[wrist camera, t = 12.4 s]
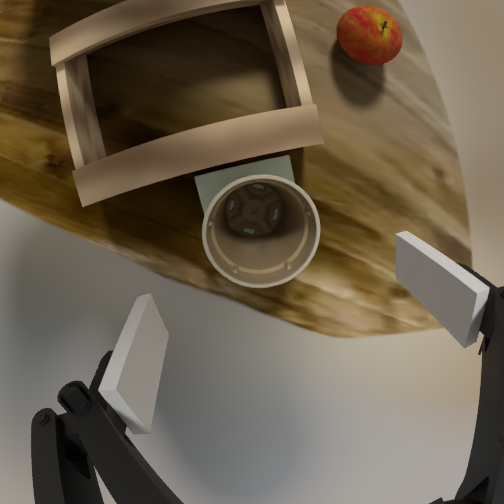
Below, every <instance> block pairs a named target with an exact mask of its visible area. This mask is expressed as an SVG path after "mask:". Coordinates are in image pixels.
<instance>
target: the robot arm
mask: <svg viewBox="0 0 504 504" xmlns="http://www.w3.org/2000/svg"><path fill="white" fill-rule="evenodd" d="M396 279H397V280H398V281H399V282H400V283H401V284H402V285H403V286H404V287H405V288H406V289H407V290H408V291H409V292H410V293H411V294H412V295H413V296H414V297H415V298H416V299H417V300H418V301H419V302H420V303H421V304H422V305H423V306H424V307H425V308H426V309H427V310H428V311H429V312H430V313H431V314H432V315H433V316H434V317H435V318H436V319H437V320H438V321H439V322H440V323H441V324H442V325H443V326H444V327H445V328H446V329H447V330H448V331H449V332H450V334H451V335H453V337H454V338H455V339H456V340H457V341H458V342H459V343H460V344H461V345H462V347H463V348H466V347H468V346H469V345H471V344H473V343H475V342H476V341H477V338H478V334H479V331H481V332H482V333H483V334H484V337H483V341H482V344H481V347H480V350H479V353H478V354H479V355H480V354H481V351H482V371H481V386H480V397H479V406H478V414H477V421H476V428H475V434H474V439H473V445H472V450H471V454H470V458H469V463H468V467H467V471H466V475H465V477H464V480H463V482H462V484H461V486H460V488H459V490H458V491H457V494H456V496H455V499H454V500H449V501H445V502H443V499H442V498H439V499H437V500H435V501H433V502H432V503H429V504H504V286H503V287H499V288H497V287H495V286H494V285H493V284H492V283H490V282H489V281H488V280H486V279H485V278H483V277H482V276H480V275H479V274H478V273H477V272H474V270H472V269H471V268H469V267H468V266H466V265H463V264H461V263H455V262H454V261H452V260H451V259H449V258H448V257H446V256H445V255H443V254H442V253H440V252H439V251H437V250H436V249H434V248H433V247H431V246H430V245H428V244H427V243H425V242H424V241H422V240H421V239H419V238H418V237H416V236H414V235H413V234H411V233H410V232H408V231H404V232H401V233H397V234H396ZM168 338H169V333H168V331H167V329H166V327H165V324H164V322H163V320H162V318H161V316H160V313H159V311H158V309H157V307H156V304H155V302H154V299H153V297H152V295H151V293H150V294H145V295H141V296H138V297H137V299H136V301H135V303H134V305H133V308H132V310H131V312H130V314H129V317H128V319H127V321H126V323H125V326H124V328H123V330H122V332H121V335H120V337H119V339H118V342H117V344H116V346H115V349H114V350H113V351H108V352H107V353H106V354H105V356H104V357H103V358H102V359H101V361H100V364H99V366H98V369H97V371H96V373H95V374H96V375H95V376H94V378H93V380H92V383H91V385H90V388H89V389H88V388H87V387H86V386H85V384H84V383H83V382H82V381H72V382H70V383H68V384H66V385H65V386H64V387H63V388H62V389H61V390H60V391H59V394H58V397H57V398H58V402H59V403H60V404H61V405H62V407H64V409H65V410H66V411H67V413H64V414H61V415H57V414H56V413H55V412H54V411H53V410H52V409H50V408H45V409H42V410H40V411H38V412H37V413H36V414H35V416H34V418H33V419H32V425H31V457H32V477H33V488H34V499H35V504H104V502H103V499H102V495H101V492H100V488H99V485H98V481H97V477H96V473H95V469H94V466H95V468H96V470H97V472H98V474H99V475H100V477H101V479H102V481H103V482H104V484H105V486H106V487H107V489H108V491H109V492H110V494H111V495H112V497H113V498H114V500H115V501H116V503H117V504H184V503H182V502H181V500H180V499H179V498H178V497H177V496H176V495H175V494H174V493H173V492H172V491H171V490H170V489H169V487H168V486H167V485H166V484H165V483H164V482H163V481H162V479H161V478H160V477H159V476H158V475H157V474H156V472H155V471H154V470H153V469H152V468H151V466H150V465H149V464H148V463H147V461H146V460H145V459H144V458H143V456H142V455H141V454H140V452H139V451H138V450H137V449H136V447H135V446H134V444H133V443H132V442H131V440H130V439H129V438H128V437H127V435H126V434H125V431H126V427H128V428H129V429H130V430H131V431H132V433H133V434H147V433H150V431H151V425H152V419H153V414H154V408H155V402H156V397H157V392H158V386H159V381H160V376H161V371H162V367H163V361H164V357H165V352H166V348H167V343H168Z"/></svg>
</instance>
